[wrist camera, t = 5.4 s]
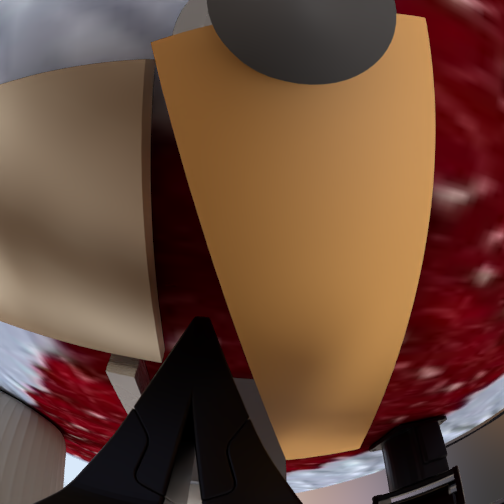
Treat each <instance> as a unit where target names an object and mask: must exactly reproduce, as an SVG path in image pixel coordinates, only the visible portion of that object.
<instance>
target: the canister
mask: <svg viewBox="0 0 504 504" xmlns="http://www.w3.org/2000/svg"><path fill="white" fill-rule="evenodd" d="M65 457H66V445H65V440H64V437H63V435H62V433H61V432H60V431H59V430H58V429H57V428H56V427H55V426H54V425H53V424H52V423H51V422H49V421H48V420H47V419H46V418H44V417H43V416H41V415H40V414H39V413H37V412H36V411H34V410H33V409H31V408H30V407H28V406H26V405H25V404H23V403H22V402H20V401H18V400H17V399H15V398H13V397H11V396H10V395H8V394H6V393H4V392H2V391H0V504H33V503H35V502H38V501H40V500H42V499H44V498H46V497H48V496H50V495H52V494H54V493H56V492H58V491H60V490H61V489H63V481H64V467H65Z"/></svg>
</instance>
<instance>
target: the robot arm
mask: <svg viewBox="0 0 504 504" xmlns="http://www.w3.org/2000/svg"><path fill="white" fill-rule="evenodd" d="M249 418H250V417H249V414H248V412H247V410H246V407H245V405H244V403H243V400H242V398H241V396H240V393H239V391H238V389H237V386H236V384H235V381H234V379H233V376H232V374H231V372H230V369H229V367H228V364H227V362H226V359H225V356H224V354H223V351H222V349H221V346H220V344H219V341H218V338H217V336H216V333H215V331H214V328H213V325H212V322H211V320H210V318H209V317H199V316H196V317H195V318H194V319H193V320H192V322H191V323H190V324H189V326H188V327H187V329H186V330H185V332H184V333H183V335H182V336H181V338H180V339H179V340H178V342H177V343H176V345H175V346H174V348H173V349H172V351H171V352H170V354H169V355H168V357H167V358H166V360H165V361H164V362H163V364H162V365H161V367H160V368H159V370H158V371H157V373H156V374H155V376H154V377H153V379H152V380H151V382H150V383H149V385H148V386H147V388H146V389H145V390H144V392H143V393H142V395H141V396H140V398H139V399H138V401H137V402H136V404H135V405H134V409H132V410H131V411H130V413H129V414H128V415H127V417H126V418H125V420H124V421H123V423H122V424H121V425H120V427H119V428H118V430H117V431H116V432H115V434H114V435H113V436H112V437H111V438H110V440H109V441H108V442H107V443H106V444H105V446H104V447H103V448H102V449H101V450H100V451H99V452H98V454H97V455H96V456H95V457H94V458H93V459H92V460H91V461H90V462H89V464H88V465H87V466H86V467H85V468H84V469H83V470H82V471H81V472H80V473H79V475H78V476H77V477H76V478H75V479H74V480H73V481H72V482H70V483H69V484H68V485H67V486H66V487H64V488H63V489H61V490H60V491H58V492H56V493H54V494H52V495H50V496H48V497H46V498H44V499H42V500H40V501H38V502H35V503H33V504H187V501H188V495H189V489H190V483H191V477H192V471H193V465H194V459H195V453H196V462H197V471H198V480H199V488H200V495H201V500H202V504H303V503H302V502H301V501H300V500H299V498H298V497H297V496H296V494H295V493H294V491H293V490H292V489H291V487H290V486H289V484H288V483H287V482H286V480H285V479H284V477H283V476H282V475H281V473H280V472H279V470H278V469H277V467H276V466H275V464H274V463H273V461H272V459H271V458H270V456H269V455H268V453H267V451H266V450H265V448H264V446H263V444H262V442H261V440H260V438H259V436H258V434H257V432H256V430H255V428H254V425H253V423H252V421H251V419H249ZM446 420H447V418H446V416H441V417H437V418H433V419H429V420H425V421H420V422H416V423H411V424H406V425H401V426H399V427H397V428H395V429H394V430H393V431H391V432H390V433H389V434H387V435H386V436H385V437H383V438H382V439H381V440H379V441H378V442H377V443H375V444H374V445H372V446H371V447H370V448H369V450H370V452H371V451H377V450H382V452H383V458H384V463H385V468H386V474H387V480H388V486H389V492H390V493H387V494H384V495H377V496H374V497H373V498H372V500H373V504H466V503H465V497H464V491H463V486H462V482H461V477H460V473H459V469H458V466H455V467H453V468H452V469H450V470H449V467H448V463H447V459H446V456H447V451H446V447H445V443H444V440H443V436H442V433H441V429H440V426H439V425H440V424H442V423H443V422H444V421H446ZM453 475H454V478H455V479H454V480H451V481H449V482H447V483H445V484H442V485H440V486H437V487H435V488H433V489H430V490H427V491H425V492H422V493H420V494H417V495H414V496H411V497H408V498H405V499H402V500H399V501H396V502H393V503H391V499H393V498H396V497H399V496H402V495H405V494H408V493H411V492H414V491H416V490H419V489H422V488H424V487H427V486H429V485H432V484H435V483H437V482H440V481H442V480H444V479H446V478H448V477H451V476H453ZM455 487H456V488H457V491H455V492H453V493H451V491H450V490H451V489H453V488H455ZM490 504H504V498H502V499H500V500H497V501H495V502H493V503H490Z"/></svg>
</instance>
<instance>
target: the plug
mask: <svg viewBox="0 0 504 504" xmlns="http://www.w3.org/2000/svg"><path fill="white" fill-rule="evenodd" d="M233 379H234V381H235V384H236V386H237V389H238V391H239V393H240V396H241V398H242V400H243V403H244V405H245V407H246V410H247V412H248V414H249V417H250V418H249V419H251V421H252V423H253V425H254V428H255V430H256V432H257V434H258V436H259V438H260V440H261V442H262V444H263V446H264V448H265V450H266V451H267V453H268V455H269V456H270V458H271V459H272V461H273V463H274V464H275V466H276V467H277V469H278V470H279V472H280V473H281V475H282V476H283V477H284V479H285V480H286V460H285V456H284V454H283V451H282V449H281V446H280V444H279V442H278V439H277V437H276V434H275V432H274V429H273V427H272V424H271V422H270V419H269V417H268V414H267V412H266V409H265V406H264V404H263V401H262V399H261V396H260V394H259V391H258V388H257V386H256V383H255V380H254V379H242V378H233ZM187 504H202V500H201V495H200V488H199V480H198V471H197V462H196V453H195V459H194V465H193V471H192V477H191V483H190V489H189V495H188V501H187Z"/></svg>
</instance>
